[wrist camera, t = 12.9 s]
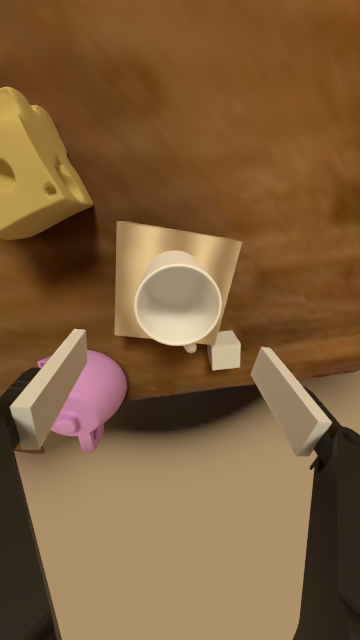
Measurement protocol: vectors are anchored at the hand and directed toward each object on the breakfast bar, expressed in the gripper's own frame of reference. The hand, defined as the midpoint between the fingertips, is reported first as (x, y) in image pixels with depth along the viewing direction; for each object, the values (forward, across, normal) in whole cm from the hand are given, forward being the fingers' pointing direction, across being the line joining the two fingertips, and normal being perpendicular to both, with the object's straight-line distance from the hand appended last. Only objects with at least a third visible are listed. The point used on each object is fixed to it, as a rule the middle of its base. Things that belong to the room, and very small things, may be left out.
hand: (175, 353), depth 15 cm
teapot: (+22, -14, -22) cm, 34 cm away
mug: (+15, +1, 0) cm, 15 cm away
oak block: (+21, 0, 0) cm, 21 cm away
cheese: (+22, -18, +11) cm, 31 cm away
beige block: (+21, +12, -11) cm, 27 cm away
